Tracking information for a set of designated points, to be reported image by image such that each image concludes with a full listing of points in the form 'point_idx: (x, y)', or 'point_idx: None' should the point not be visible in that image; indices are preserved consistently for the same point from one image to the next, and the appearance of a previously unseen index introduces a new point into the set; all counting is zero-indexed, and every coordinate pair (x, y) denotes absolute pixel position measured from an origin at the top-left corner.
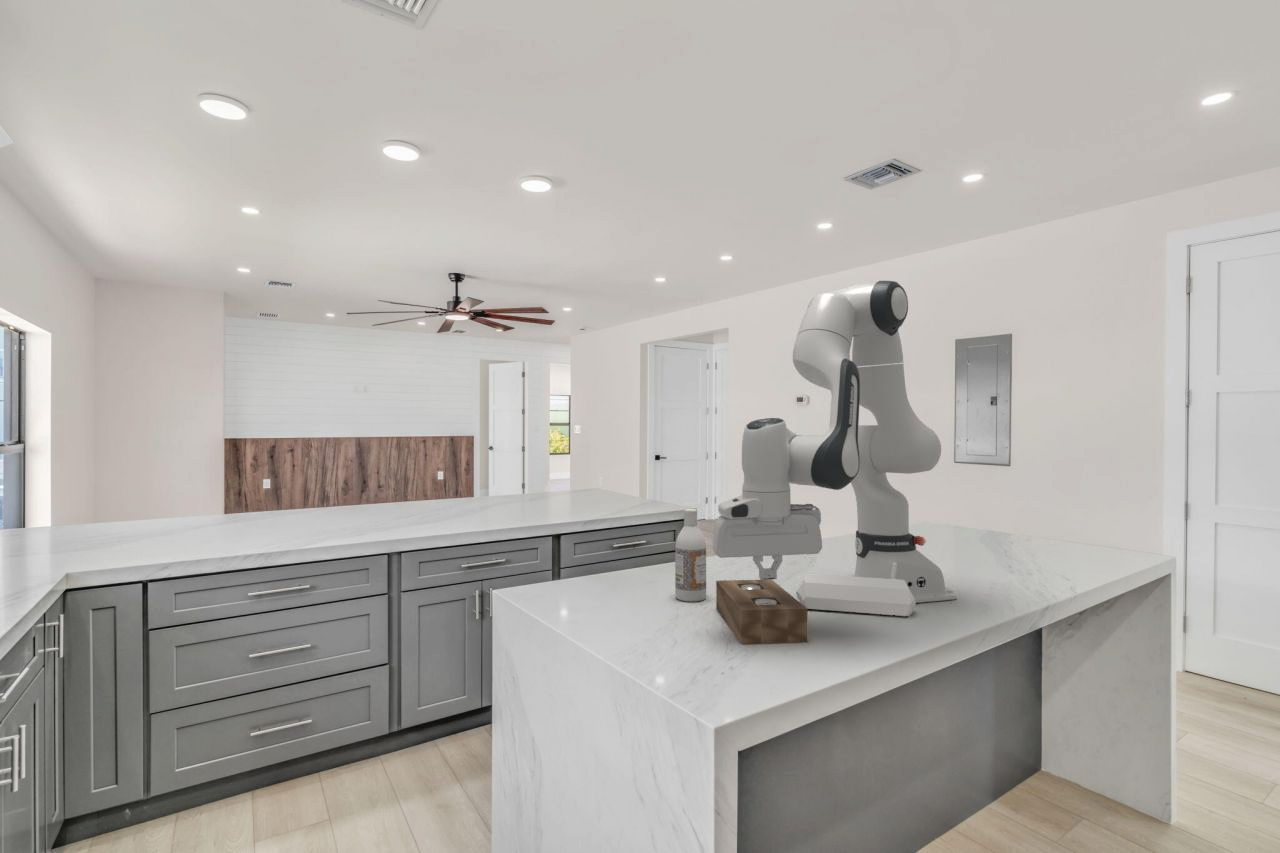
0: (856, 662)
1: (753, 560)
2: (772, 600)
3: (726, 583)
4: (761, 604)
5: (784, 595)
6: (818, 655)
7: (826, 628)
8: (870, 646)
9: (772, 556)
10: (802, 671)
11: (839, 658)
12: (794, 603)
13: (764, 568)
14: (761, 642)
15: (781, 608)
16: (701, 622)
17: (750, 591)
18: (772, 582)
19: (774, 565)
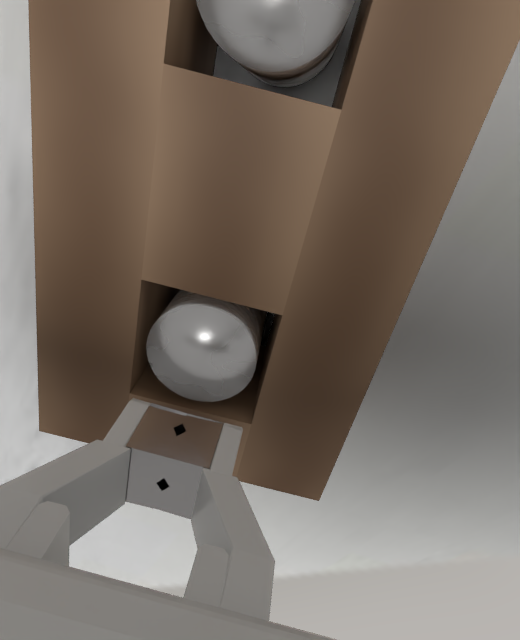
0: (339, 543)
1: (8, 487)
2: (242, 354)
3: None
4: (162, 380)
5: (361, 301)
6: None
7: (492, 321)
8: (471, 491)
9: (188, 582)
10: (185, 534)
11: (318, 516)
12: (314, 432)
13: (151, 452)
14: None
15: None
16: (5, 54)
17: (204, 135)
18: None
19: (203, 539)
